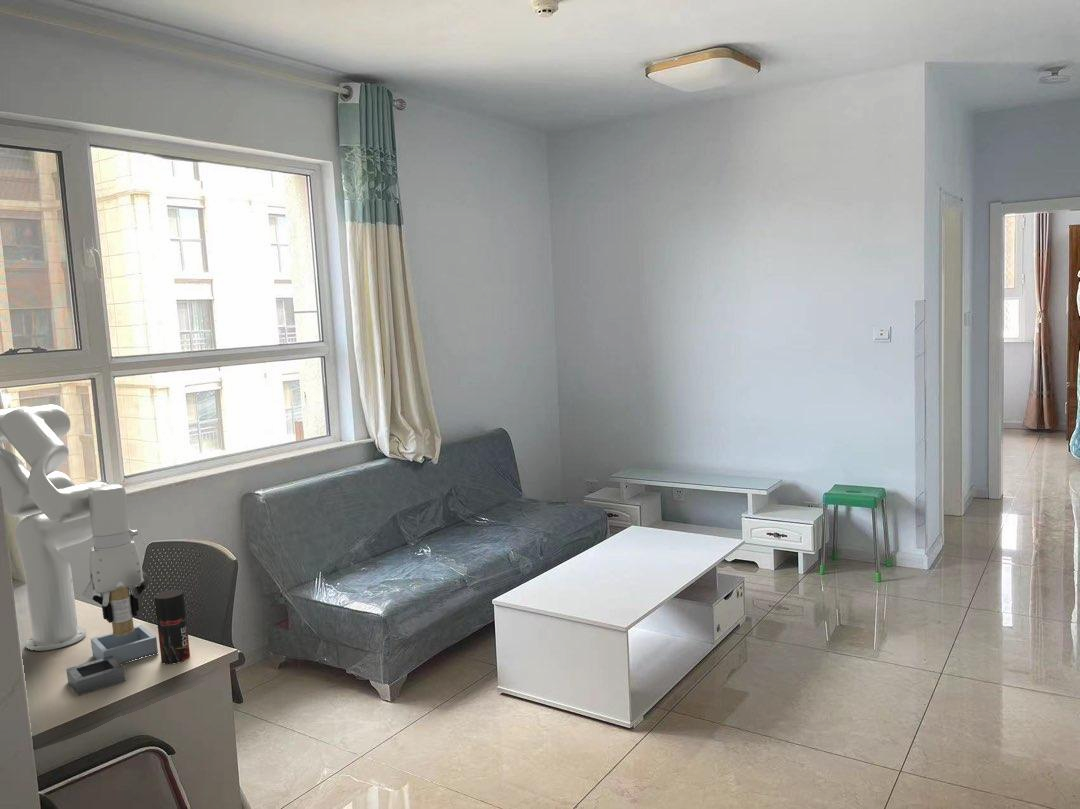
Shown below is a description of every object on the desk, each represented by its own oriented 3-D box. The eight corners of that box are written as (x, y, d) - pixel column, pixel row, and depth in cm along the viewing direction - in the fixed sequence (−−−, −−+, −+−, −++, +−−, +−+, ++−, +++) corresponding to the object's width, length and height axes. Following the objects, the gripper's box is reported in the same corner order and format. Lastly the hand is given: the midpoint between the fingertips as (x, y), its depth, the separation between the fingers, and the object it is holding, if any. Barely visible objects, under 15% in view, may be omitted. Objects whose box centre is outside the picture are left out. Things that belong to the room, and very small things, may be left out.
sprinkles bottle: (117, 630, 189) (110, 574, 187) (138, 628, 189) (130, 572, 188) (109, 638, 184) (101, 580, 183) (130, 636, 184) (122, 578, 183)
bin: (92, 655, 188) (90, 638, 187) (143, 641, 195) (141, 624, 194) (105, 669, 180) (103, 652, 179) (158, 653, 187) (156, 637, 186)
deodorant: (184, 663, 181) (177, 597, 179) (157, 665, 180) (150, 599, 179) (193, 652, 187) (187, 588, 185) (167, 654, 186) (160, 590, 185)
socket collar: (67, 682, 174) (66, 668, 174) (114, 668, 180) (112, 655, 179) (78, 695, 167) (76, 681, 167) (125, 681, 173) (124, 667, 173)
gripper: (147, 529, 193) (155, 604, 194) (66, 545, 181) (76, 624, 183) (157, 534, 187) (165, 611, 189) (74, 551, 176) (84, 633, 178)
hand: (121, 617), depth 186 cm, fingers closed on sprinkles bottle, 4 cm apart
